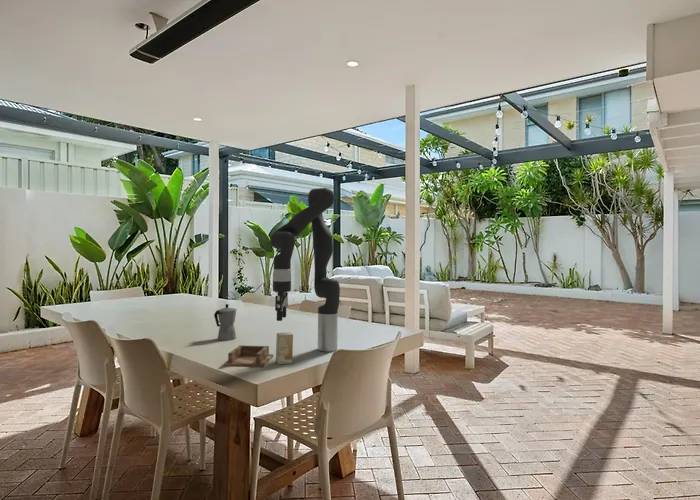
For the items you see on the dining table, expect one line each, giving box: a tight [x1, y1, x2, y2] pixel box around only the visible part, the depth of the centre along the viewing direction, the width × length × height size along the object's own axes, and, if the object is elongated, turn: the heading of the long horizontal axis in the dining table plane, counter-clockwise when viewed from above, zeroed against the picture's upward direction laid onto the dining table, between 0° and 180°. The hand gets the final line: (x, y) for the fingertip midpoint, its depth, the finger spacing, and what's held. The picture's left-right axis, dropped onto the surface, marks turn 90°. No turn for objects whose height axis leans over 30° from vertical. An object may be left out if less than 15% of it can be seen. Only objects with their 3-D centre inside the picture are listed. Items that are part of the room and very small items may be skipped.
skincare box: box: [275, 332, 294, 365], centre depth 182 cm, size 6×4×12 cm
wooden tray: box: [224, 344, 274, 368], centre depth 184 cm, size 16×16×5 cm
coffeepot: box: [213, 304, 237, 342], centre depth 225 cm, size 15×9×18 cm, turn 153°
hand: (281, 319), depth 181 cm, fingers open, 8 cm apart
